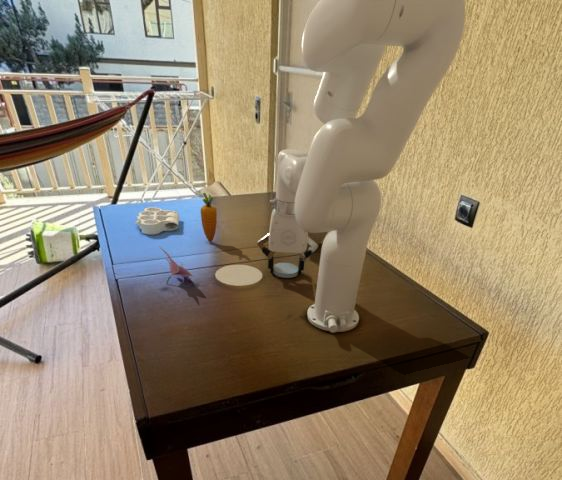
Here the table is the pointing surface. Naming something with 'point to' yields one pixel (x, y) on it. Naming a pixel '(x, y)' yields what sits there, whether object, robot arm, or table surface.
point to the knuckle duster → (157, 220)
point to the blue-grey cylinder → (285, 270)
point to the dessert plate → (238, 275)
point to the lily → (177, 269)
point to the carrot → (208, 218)
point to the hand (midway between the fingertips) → (285, 271)
